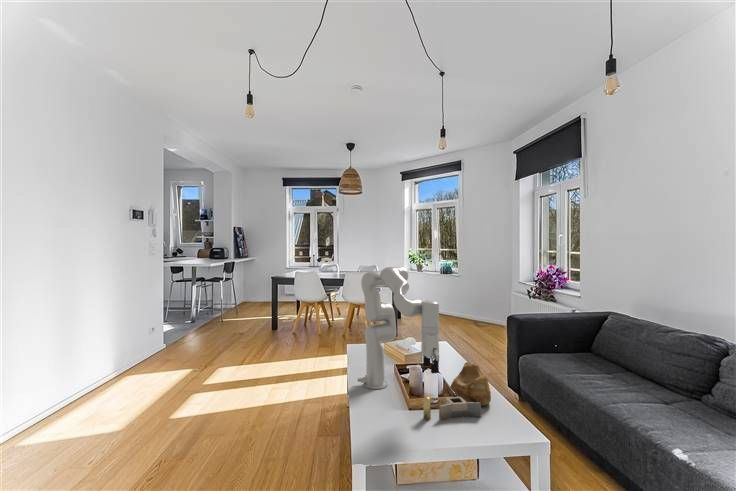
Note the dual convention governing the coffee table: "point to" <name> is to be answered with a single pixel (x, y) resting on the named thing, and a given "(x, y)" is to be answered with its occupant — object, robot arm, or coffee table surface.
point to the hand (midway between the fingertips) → (430, 369)
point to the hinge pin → (427, 408)
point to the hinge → (459, 409)
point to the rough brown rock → (472, 385)
